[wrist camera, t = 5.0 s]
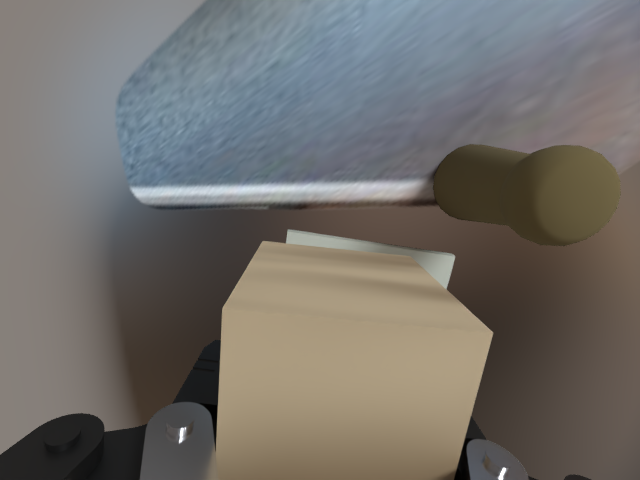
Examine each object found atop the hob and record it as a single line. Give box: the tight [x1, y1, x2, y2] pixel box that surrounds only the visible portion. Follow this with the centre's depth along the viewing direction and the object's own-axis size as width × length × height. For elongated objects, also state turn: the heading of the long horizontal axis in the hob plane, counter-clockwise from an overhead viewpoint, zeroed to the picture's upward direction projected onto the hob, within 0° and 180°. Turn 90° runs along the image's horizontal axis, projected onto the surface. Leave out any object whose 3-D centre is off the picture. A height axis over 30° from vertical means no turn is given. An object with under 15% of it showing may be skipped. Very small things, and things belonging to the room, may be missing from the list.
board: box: [286, 230, 455, 289], centre depth 28 cm, size 12×14×1 cm
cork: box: [433, 144, 621, 246], centre depth 20 cm, size 6×6×11 cm
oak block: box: [216, 241, 493, 480], centre depth 9 cm, size 8×5×5 cm, turn 173°
